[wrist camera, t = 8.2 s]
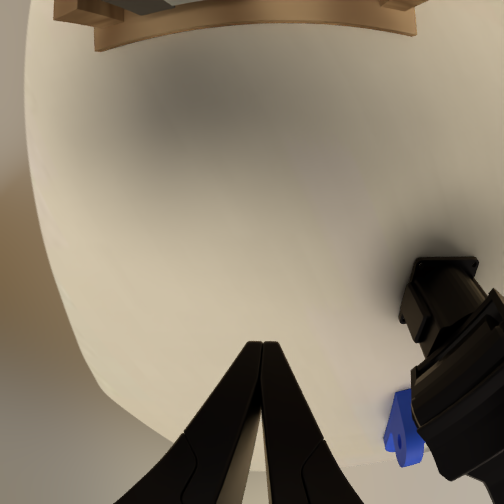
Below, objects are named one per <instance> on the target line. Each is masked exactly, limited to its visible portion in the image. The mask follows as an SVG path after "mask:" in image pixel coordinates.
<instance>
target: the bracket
mask: <svg viewBox="0 0 504 504" xmlns="http://www.w3.org/2000/svg"><path fill="white" fill-rule="evenodd" d="M424 443H425V441H424V440H423V439H422V438H421V437H420V435H419V434H418V433H417V427H416V426H415V423H414V421H413V420H412V414H411V389H407V390H403V391H399V392H395V396H394V401H393V405H392V409H391V413H390V416H389V420H388V424H387V428H386V431H385V434H384V444H385V449H386V451H389V452H396V457H397V461H398V463H399V465H400V467H406V466H410V465H414V464H417V463H420V461H421V460H422V457H423V452H424Z"/></svg>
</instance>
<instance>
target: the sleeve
mask: <svg viewBox="0 0 504 504" xmlns="http://www.w3.org/2000/svg"><path fill="white" fill-rule="evenodd" d="M164 1H166V2H167V3H169V4H170V5H172V6H174V5H180V4H185V3H190V2H196V1H203V0H164Z"/></svg>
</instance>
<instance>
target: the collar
mask: <svg viewBox="0 0 504 504" xmlns="http://www.w3.org/2000/svg"><path fill="white" fill-rule="evenodd" d="M101 1H104V2H107V3H110V4H113V5H115V6H118V7H121V8H123V9H126V10H128V11H131V12H133V13H136V14H138V15H141V16H143V15H147V14H151V13H155V12H159V11H163V10H168V9H173V8H175V5H174V6H172V5H170V4H169V3H167V2H166V1H164V0H101Z"/></svg>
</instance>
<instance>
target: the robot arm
mask: <svg viewBox="0 0 504 504" xmlns="http://www.w3.org/2000/svg"><path fill="white" fill-rule="evenodd" d="M420 263H422V264H421V265H420V266H419V264H420ZM473 263H474V264H473ZM478 265H479V261H478V260H477V259H476V257H420V258H418V259H416V260H415V262H414V266H413V269H412V273H411V277H410V281H409V283H408V284H407V286H406V290H405V293H404V296H403V300H402V303H401V306H400V309H401V311H400V314H399V318H398V319H399V321H400V323H401V324H407V326H408V328H409V331H410V333H411V336H412V339H413V341H414V342H415V343H419V344H420V346H421V349H422V351H423V354H424V357H425V360H424V361H423V362H422V363H420V364H419V365H418V366H415V367H414V368H413V369H412V370H411V414H412V420H413V421H414V423H415V426H416V427H417V433H418V434H419V435H420V437H421V438H422V439H423V440H424V441H425V442H426V444H427V446H428V447H429V449H430V451H431V452H432V455H433V457H434V460H435V462H436V465H437V468H438V470H439V473H440V474H441V475H442V476H444V477H445V478H446V479H447V480H449V481H453V480H456V479H457V478H459V477H461V476H463V475H467V476H469V477H472V478H474V479H476V480H479V481H481V482H483V483H484V485H485V487H486V489H487V491H488V493H489V495H490V498H491V500H492V502H493V504H504V297H503V296H502V295H501V294H500V293H499V292H498V291H497V290H495V289H494V288H493V289H492V290H491V291H490V292H489V293H488V294H489V295H488V296H487V294H486V293H485V292H484V290H483V289H482V288H481V286H480V285H479V284H478V282H477V281H476V280H475V278H474V276H475V274H476V271H477V268H478ZM403 318H404V319H403ZM261 413H262V428H263V439H264V451H265V463H266V475H267V487H268V498H269V504H364V503H363V502H362V500H361V499H360V497H359V496H358V495H357V493H356V492H355V491H354V489H353V488H352V486H351V485H350V484H349V482H348V480H347V479H346V477H345V476H344V474H343V473H342V471H341V470H340V468H339V466H338V464H337V462H336V460H335V459H334V457H333V455H332V453H331V451H330V449H329V447H328V445H327V443H326V441H325V440H323V439H324V437H323V435H322V433H321V431H320V429H319V427H318V425H317V422H316V420H315V418H314V416H313V414H312V412H311V410H310V408H309V406H308V404H307V401H306V399H305V397H304V395H303V393H302V391H301V389H300V387H299V385H298V383H297V380H296V378H295V376H294V374H293V372H292V370H291V368H290V366H289V363H288V361H287V359H286V357H285V355H284V353H283V351H282V348H281V346H280V344H279V343H278V342H276V341H265V342H264V343H262V342H261V341H248V342H247V343H246V344H245V346H244V347H243V349H242V350H241V352H240V353H239V355H238V356H237V358H236V359H235V360H234V362H233V363H232V365H231V366H230V368H229V369H228V370H227V372H226V373H225V375H224V376H223V378H222V379H221V380H220V382H219V383H218V385H217V386H216V387H215V389H214V390H213V392H212V393H211V394H210V396H209V397H208V399H207V400H206V401H205V403H204V404H203V406H202V407H201V408H200V410H199V411H198V412H197V414H196V415H195V416H194V418H193V419H192V421H191V422H190V423H189V425H188V426H187V427H186V429H185V430H184V433H182V434H181V435H180V436H179V438H178V439H177V440H176V442H175V443H174V444H173V446H172V447H171V448H170V449H169V450H168V452H167V453H166V454H165V455H164V456H163V458H162V459H161V460H160V461H159V462H158V463H157V464H156V465H155V466H154V467H153V468H152V469H151V470H150V471H149V472H148V473H147V474H146V475H145V476H144V477H143V478H142V479H141V480H140V481H138V482H137V483H136V484H135V485H134V486H133V487H132V488H131V489H130V490H129V491H128V492H126V493H125V494H124V495H123V496H122V497H121V498H120V499H119V500H117V501H116V502H115V503H113V504H242V500H243V495H244V491H245V487H246V482H247V478H248V473H249V469H250V464H251V460H252V455H253V450H254V446H255V441H256V436H257V431H258V426H259V421H260V415H261Z"/></svg>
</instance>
